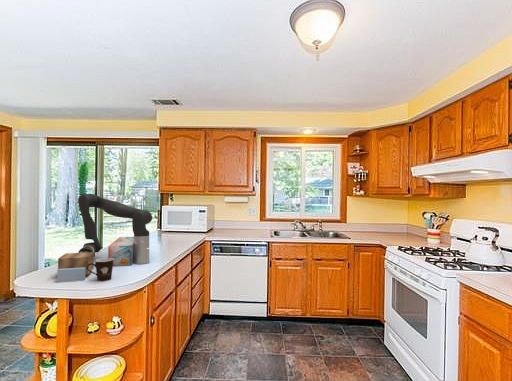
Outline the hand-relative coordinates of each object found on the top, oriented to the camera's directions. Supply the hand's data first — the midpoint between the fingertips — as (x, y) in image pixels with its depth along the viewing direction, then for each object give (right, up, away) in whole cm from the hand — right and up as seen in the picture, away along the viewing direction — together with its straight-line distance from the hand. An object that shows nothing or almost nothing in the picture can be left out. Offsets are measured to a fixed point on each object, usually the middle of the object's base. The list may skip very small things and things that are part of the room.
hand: (79, 258), depth 177 cm
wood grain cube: (+2, -6, -7) cm, 9 cm away
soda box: (+12, -8, +33) cm, 36 cm away
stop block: (+6, -8, -17) cm, 20 cm away
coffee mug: (+20, -8, -15) cm, 26 cm away
